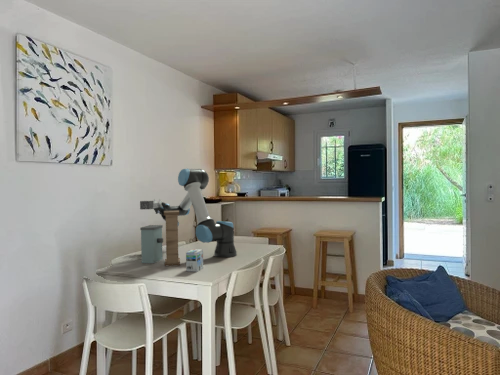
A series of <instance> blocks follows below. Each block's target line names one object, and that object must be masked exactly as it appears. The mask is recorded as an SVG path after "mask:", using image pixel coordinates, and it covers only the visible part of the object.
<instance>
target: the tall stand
mask: <svg viewBox="0 0 500 375" xmlns="http://www.w3.org/2000/svg"><path fill="white" fill-rule="evenodd" d="M178 215H179V210H170V211H164V216H166V222H165V254H166V255H165V256H166V258H165V260H164V267H170V266H171V267H172V266H181V259H180V257H179V229H178V228H179V226H178V222H179V219H178V218H179V217H178Z"/></svg>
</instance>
